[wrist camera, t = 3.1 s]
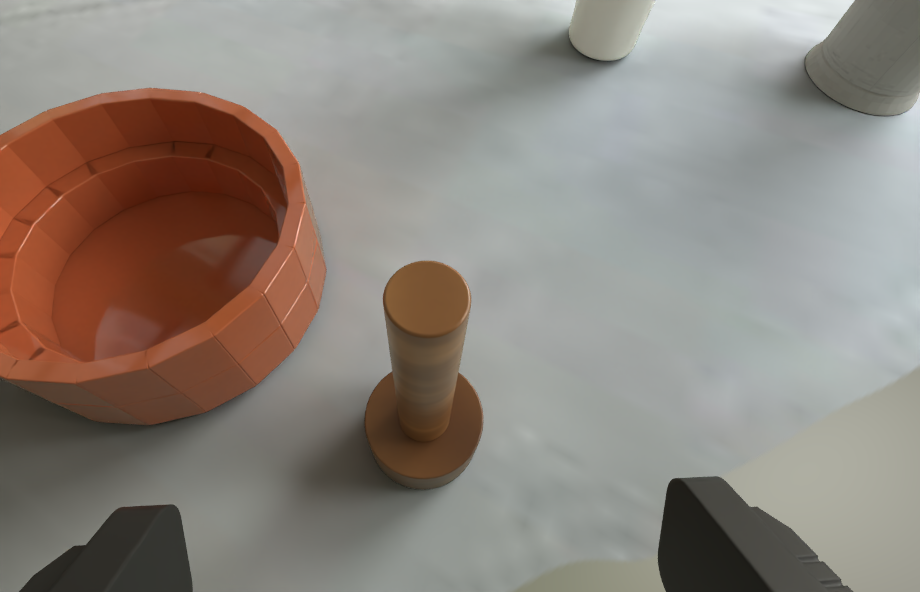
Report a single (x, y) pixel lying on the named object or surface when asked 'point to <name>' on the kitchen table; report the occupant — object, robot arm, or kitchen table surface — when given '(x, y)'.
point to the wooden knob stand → (425, 380)
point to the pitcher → (871, 57)
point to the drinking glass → (608, 27)
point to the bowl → (151, 254)
